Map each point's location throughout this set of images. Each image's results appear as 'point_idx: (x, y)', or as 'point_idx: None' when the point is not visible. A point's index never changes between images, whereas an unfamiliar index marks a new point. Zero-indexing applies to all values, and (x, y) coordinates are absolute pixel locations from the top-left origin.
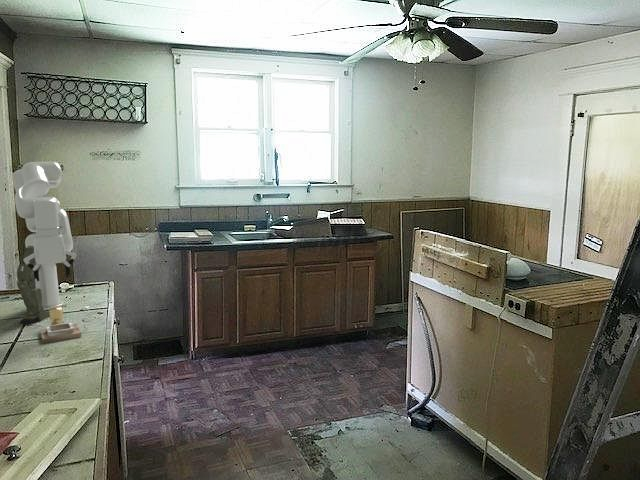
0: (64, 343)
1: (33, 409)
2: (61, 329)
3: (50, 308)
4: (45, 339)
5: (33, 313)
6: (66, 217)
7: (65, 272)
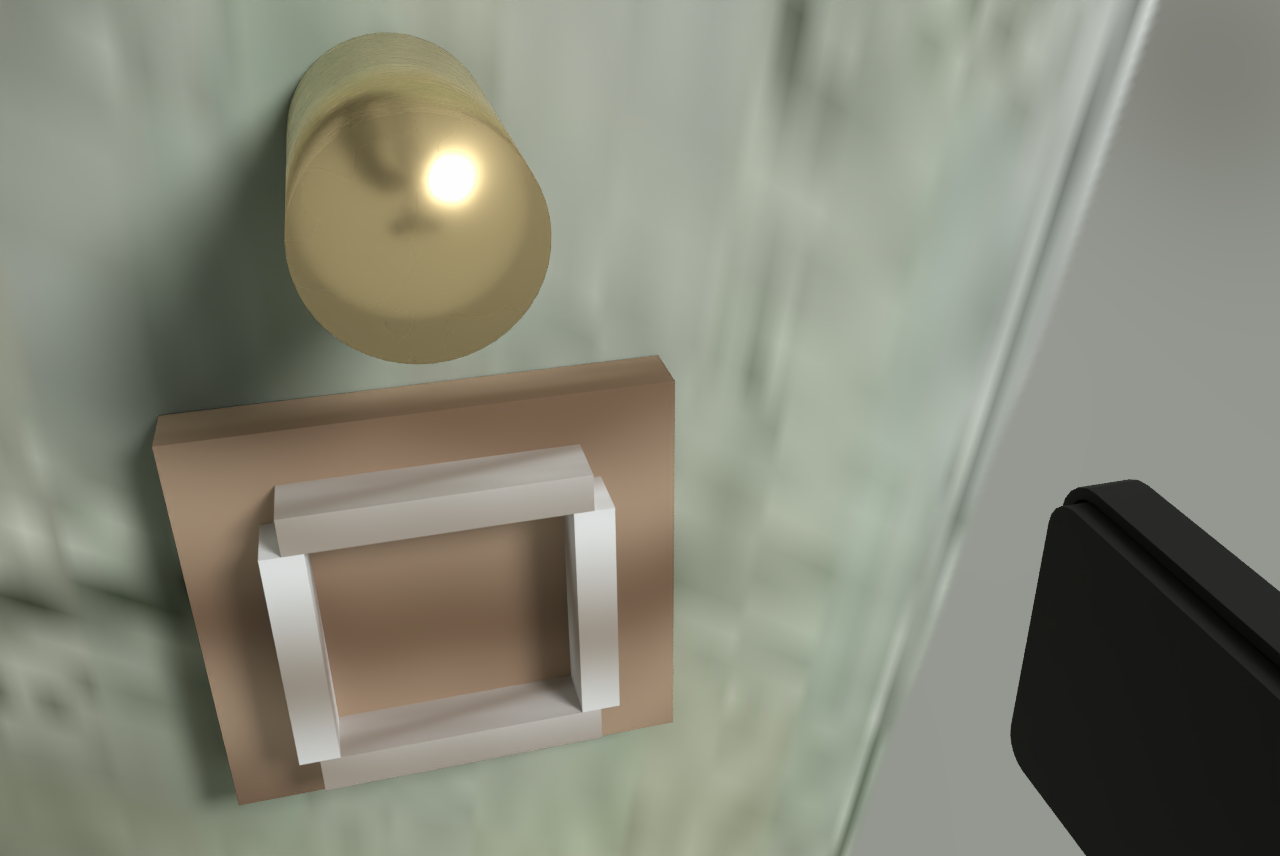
0: (475, 817)
1: None
2: (461, 537)
3: (312, 198)
4: (271, 792)
5: None
6: None
7: (1140, 706)
